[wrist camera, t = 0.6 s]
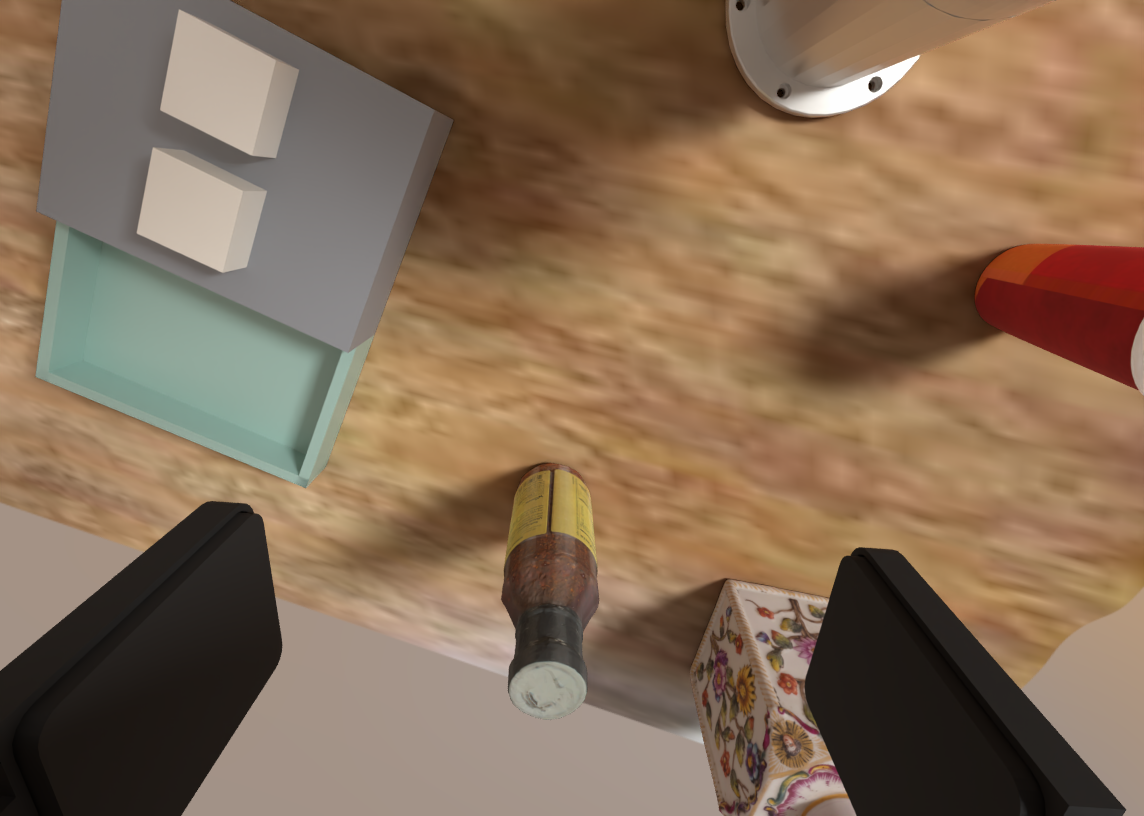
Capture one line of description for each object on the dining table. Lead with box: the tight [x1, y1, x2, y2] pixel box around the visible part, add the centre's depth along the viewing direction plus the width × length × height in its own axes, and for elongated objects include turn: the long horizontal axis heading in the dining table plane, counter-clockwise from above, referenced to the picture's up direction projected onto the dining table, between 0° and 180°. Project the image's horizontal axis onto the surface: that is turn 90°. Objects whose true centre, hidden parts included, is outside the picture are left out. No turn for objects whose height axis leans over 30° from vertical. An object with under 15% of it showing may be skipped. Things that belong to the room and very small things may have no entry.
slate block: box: [36, 0, 454, 353], centre depth 35 cm, size 16×20×5 cm
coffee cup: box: [975, 244, 1144, 396], centre depth 32 cm, size 8×8×15 cm
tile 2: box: [137, 147, 267, 273], centre depth 32 cm, size 5×5×2 cm
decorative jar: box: [690, 579, 856, 816], centre depth 43 cm, size 12×12×18 cm
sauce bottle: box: [501, 463, 599, 720], centre depth 37 cm, size 7×6×20 cm
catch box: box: [35, 221, 374, 488], centre depth 40 cm, size 12×20×4 cm, turn 64°
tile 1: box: [160, 9, 299, 158], centre depth 30 cm, size 5×5×2 cm
